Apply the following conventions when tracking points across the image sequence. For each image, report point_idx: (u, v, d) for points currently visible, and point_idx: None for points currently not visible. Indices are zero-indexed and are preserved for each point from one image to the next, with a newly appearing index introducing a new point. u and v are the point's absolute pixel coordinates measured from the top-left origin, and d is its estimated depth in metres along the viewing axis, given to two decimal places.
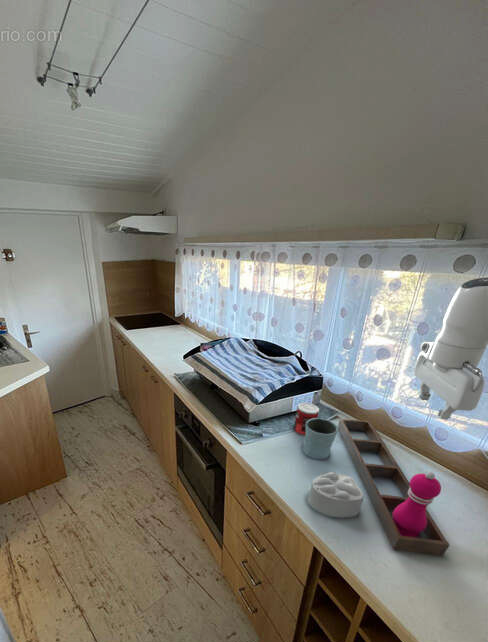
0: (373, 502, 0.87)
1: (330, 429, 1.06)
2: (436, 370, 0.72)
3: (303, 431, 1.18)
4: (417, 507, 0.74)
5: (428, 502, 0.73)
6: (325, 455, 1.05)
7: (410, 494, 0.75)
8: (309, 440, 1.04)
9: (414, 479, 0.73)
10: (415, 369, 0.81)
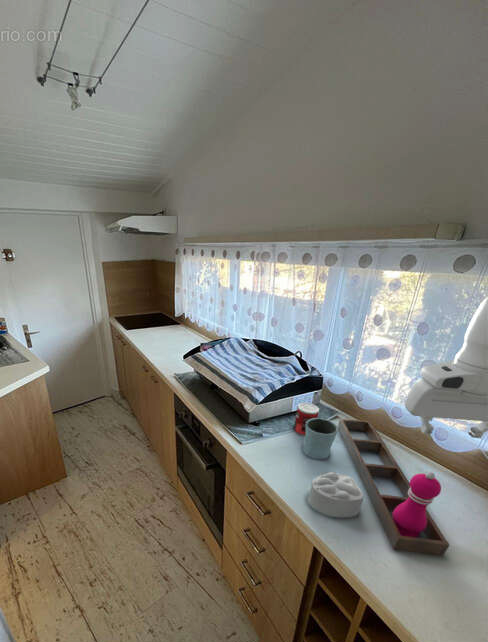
0: (373, 502, 0.87)
1: (330, 429, 1.06)
2: (463, 399, 0.61)
3: (303, 431, 1.18)
4: (417, 507, 0.74)
5: (428, 502, 0.73)
6: (325, 455, 1.05)
7: (410, 494, 0.75)
8: (309, 440, 1.04)
9: (414, 479, 0.73)
10: (417, 409, 0.63)
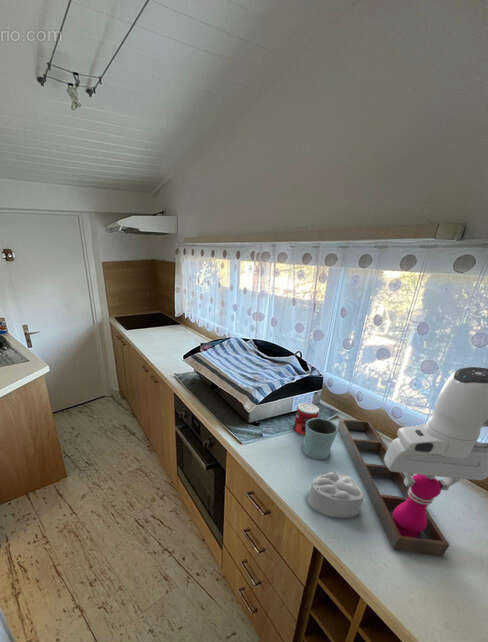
0: (373, 502, 0.87)
1: (330, 429, 1.06)
2: (435, 459, 0.68)
3: (303, 431, 1.18)
4: (417, 507, 0.74)
5: (428, 502, 0.73)
6: (325, 455, 1.05)
7: (410, 494, 0.75)
8: (309, 440, 1.04)
9: (414, 479, 0.73)
10: (394, 467, 0.70)
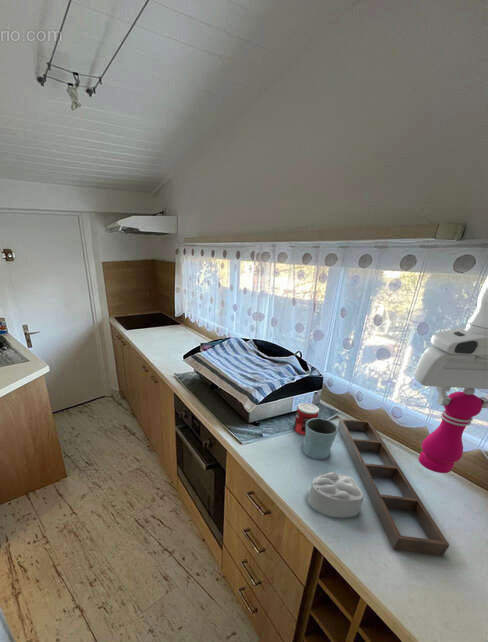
0: (373, 502, 0.87)
1: (330, 429, 1.06)
2: (477, 366, 0.58)
3: (303, 431, 1.18)
4: (452, 431, 0.64)
5: (466, 423, 0.62)
6: (325, 455, 1.05)
7: (444, 416, 0.65)
8: (309, 440, 1.04)
9: (450, 397, 0.63)
10: (428, 379, 0.60)
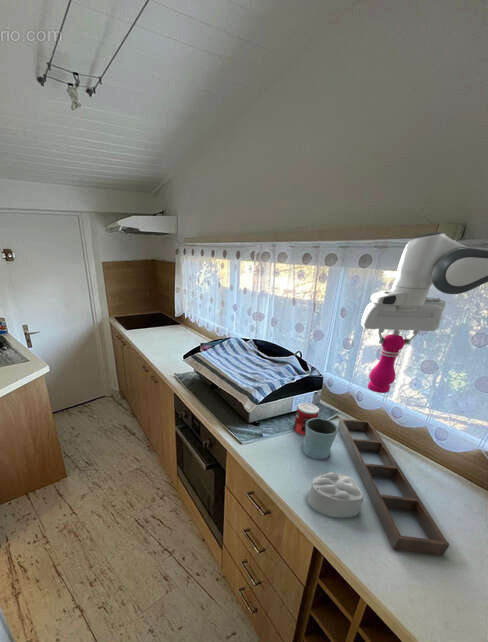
0: (373, 502, 0.87)
1: (330, 429, 1.06)
2: (398, 314, 0.89)
3: (303, 431, 1.18)
4: (387, 361, 0.95)
5: (395, 354, 0.93)
6: (325, 455, 1.05)
7: (382, 351, 0.96)
8: (309, 440, 1.04)
9: (385, 337, 0.94)
10: (368, 323, 0.91)
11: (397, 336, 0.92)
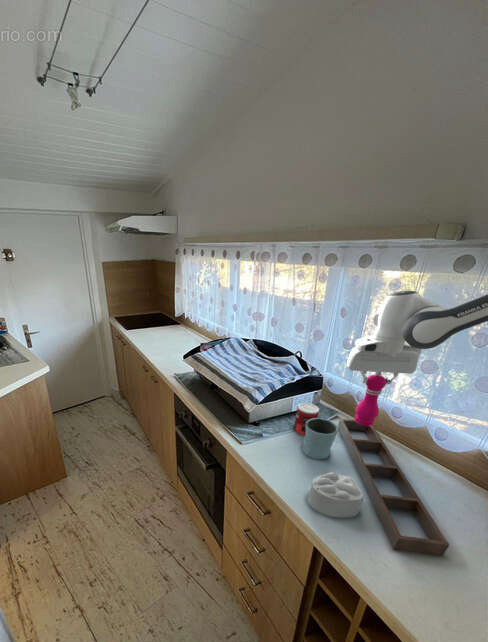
0: (373, 502, 0.87)
1: (330, 429, 1.06)
2: (380, 358, 0.99)
3: (303, 431, 1.18)
4: (370, 398, 1.05)
5: (377, 393, 1.03)
6: (325, 455, 1.05)
7: (366, 390, 1.06)
8: (309, 440, 1.04)
9: (368, 377, 1.04)
10: (352, 366, 1.01)
11: (379, 377, 1.02)
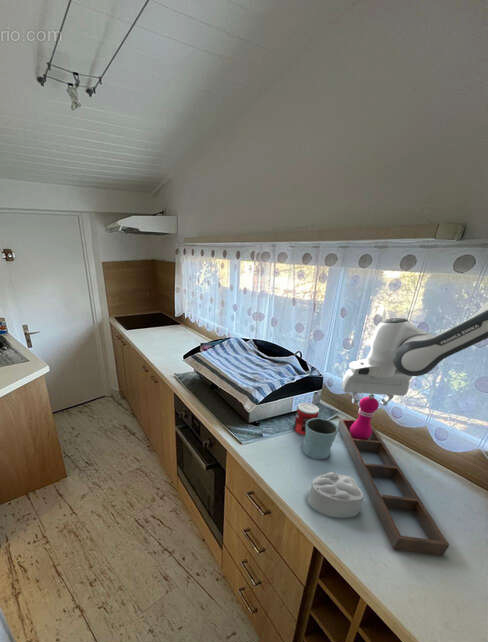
0: (373, 502, 0.87)
1: (330, 429, 1.06)
2: (372, 381, 1.03)
3: (303, 431, 1.18)
4: (364, 419, 1.09)
5: (370, 415, 1.08)
6: (325, 455, 1.05)
7: (359, 411, 1.10)
8: (309, 440, 1.04)
9: (361, 399, 1.08)
10: (347, 388, 1.05)
11: (372, 400, 1.06)
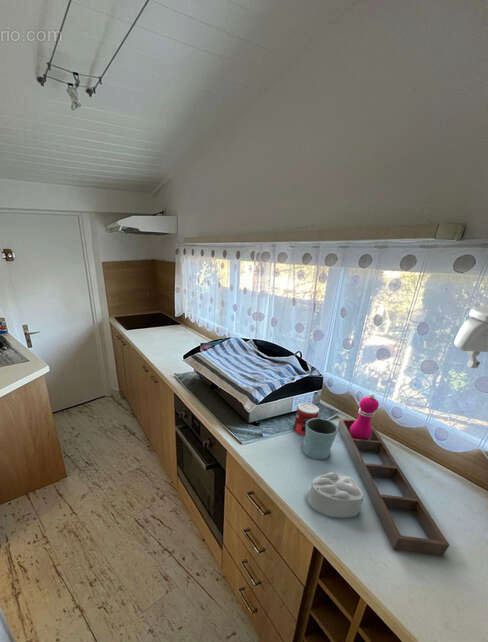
0: (373, 502, 0.87)
1: (330, 429, 1.06)
2: None
3: (303, 431, 1.18)
4: (364, 419, 1.09)
5: (370, 415, 1.08)
6: (325, 455, 1.05)
7: (359, 411, 1.10)
8: (309, 440, 1.04)
9: (361, 399, 1.08)
10: (467, 344, 0.74)
11: (372, 400, 1.06)
